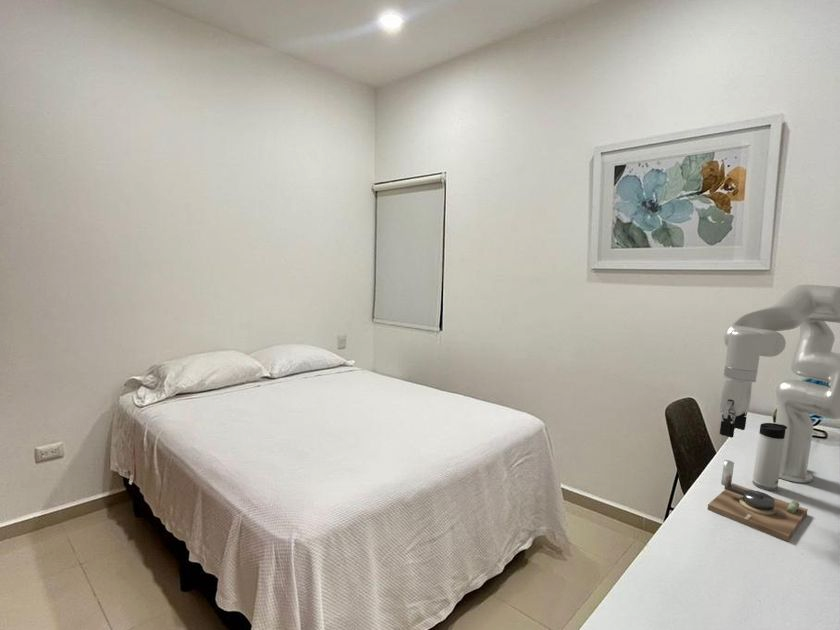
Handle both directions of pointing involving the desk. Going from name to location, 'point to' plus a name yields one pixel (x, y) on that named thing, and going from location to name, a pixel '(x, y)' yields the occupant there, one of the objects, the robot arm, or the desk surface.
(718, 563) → the desk surface
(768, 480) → the travel mug
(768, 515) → the base
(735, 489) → the grey rounded piece
